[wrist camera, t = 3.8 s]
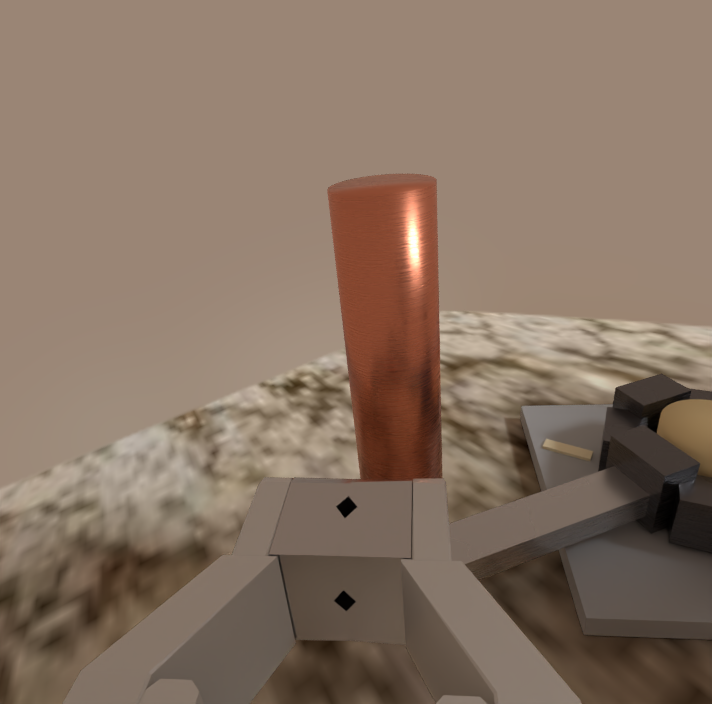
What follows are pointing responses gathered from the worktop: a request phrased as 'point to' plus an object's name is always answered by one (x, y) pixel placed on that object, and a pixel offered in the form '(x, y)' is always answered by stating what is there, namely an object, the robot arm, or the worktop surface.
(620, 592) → the plate
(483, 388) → the worktop surface
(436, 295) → the nut with spanner
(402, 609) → the robot arm
